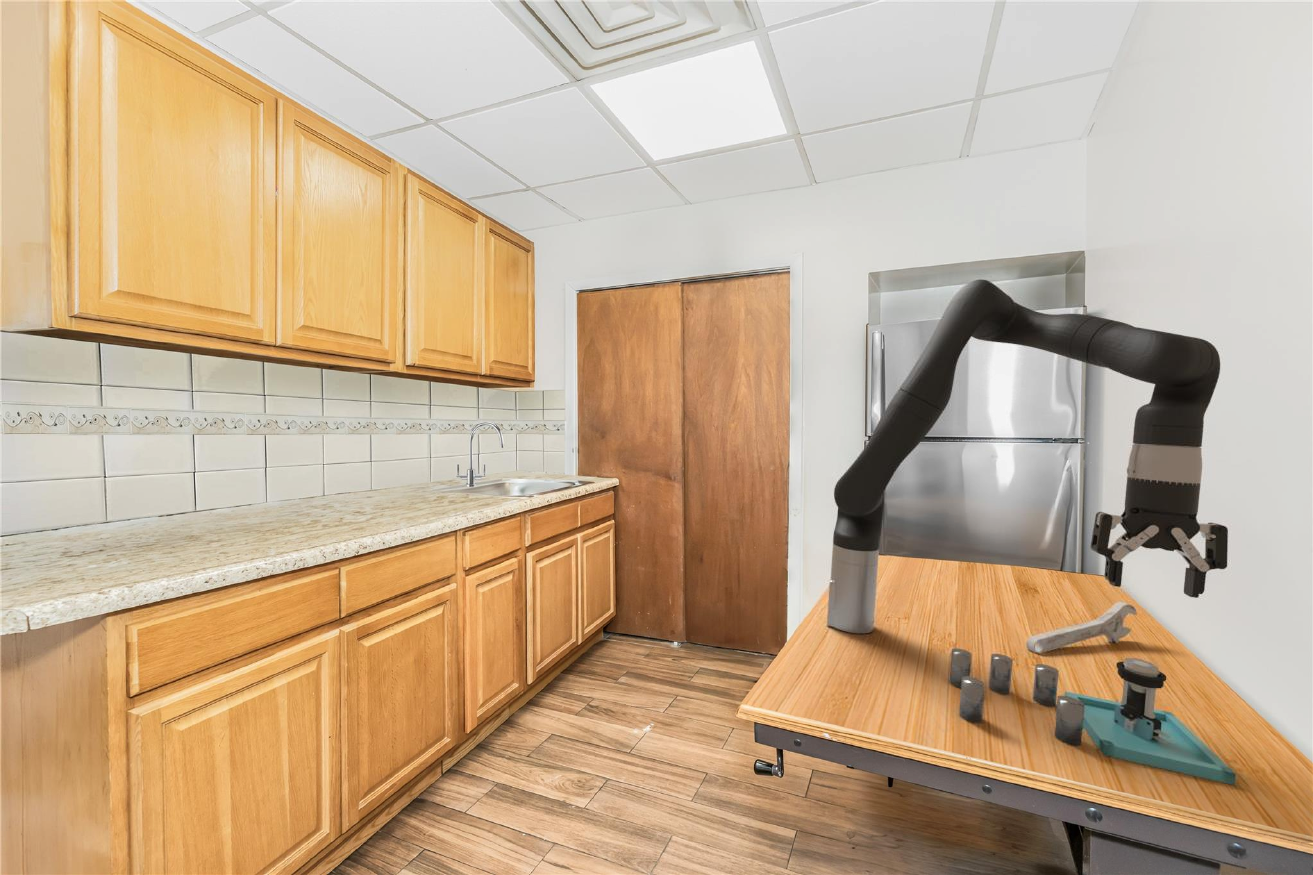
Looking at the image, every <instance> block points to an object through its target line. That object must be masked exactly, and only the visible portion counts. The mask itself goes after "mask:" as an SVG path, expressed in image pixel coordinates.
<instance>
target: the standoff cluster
mask: <svg viewBox="0 0 1313 875" xmlns="http://www.w3.org/2000/svg"><path fill="white" fill-rule="evenodd" d="M950 650H951V652H950V653H951V654H950V664H949V667H950V668H949V676H948V677H949V681H948V683H949V684H951V686H953V687H955V688H958V689H960V696H959V697H960V699H959V714H958V716H959V717H960V718H962V719H963V720H965V721H967V722H970V723H973V724H979V723H982V722H983V716H984V705H985V704H984V702H985V691H986V683H985V682H984V680H981V679H979V678H977V677H974V676H971V673H972V671H971V670H972V669H971V668H972V659H973V654H972V653H971V652H970V651H968V650H966V649H961V648H957V647H956V648H955V647H954V648H952V649H950ZM1034 667H1035V668H1034V677H1033V678H1034V679H1033V681H1034V682H1033V690H1032V691H1033V692H1032V700H1033V702H1035V703H1036V704H1039V705H1041V706H1044V707H1047V708H1055V707H1056V715H1055V722H1054V723H1055V726H1054V737H1055V738H1056V739H1057V740H1059V741H1060V742H1062V743H1064V744H1067V745H1070V746H1074V747H1078V746H1081V745H1082V739H1083V738H1082V737H1083V729H1084V727H1083V718H1084V706H1085V705H1084V703H1083V702H1081V701H1079V700H1077V699H1075V698H1072V697H1068V696H1065V695H1058V694H1057V693H1058V686H1059V685H1058V682H1059V669H1057V668H1055V667H1054V666H1051V665H1048V664H1045V663H1043V664H1042V663H1036V664H1035V666H1034ZM1012 673H1013V659H1012V657H1010V656H1007V655H1005V654H1001V653H992V654H991V655H990V666H989V676H988V678H989V679H988V689H989V690H990V691H992V692H993V693H996V694H998V695H1002V696H1003V695H1005V696H1009V695H1010V694H1011V687H1012V686H1011V685H1012V684H1011V683H1012Z"/></svg>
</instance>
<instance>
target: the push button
mask: <svg viewBox="0 0 1313 875" xmlns="http://www.w3.org/2000/svg"><path fill="white" fill-rule="evenodd" d="M1116 668H1117V674H1118V676H1119V677H1120V678H1121V679H1122V680H1123V684H1122V685H1123V686H1122V688H1123V689H1122V698H1121V699H1122V700H1120V701H1119V702H1120V704H1122V705H1118V706H1115V712H1114V722H1115V723H1116V724H1118V725H1120V726H1122V727H1124V728H1125V730H1127V731H1129V732H1133V733H1135V734H1137V735H1139V736H1141V737H1143V738H1145V739H1147V740H1153V739H1157V740H1159V741H1161V742H1163V743H1165V744H1170V742H1168V741H1166V740H1164V739H1162V738H1161V737H1159V734H1161V735H1163V736H1165V735H1167V734H1165V733H1163V732H1162V731H1161V724H1162V723H1161V721H1160V720H1158V719H1156V718H1155V715H1154V709H1155V704H1156V703H1155V702H1156V701H1155V700H1156V691H1157V689H1162V688H1163V687H1164V684H1165V683H1164V682H1166V681H1167V675H1166V674H1165V673H1164V672H1161V671H1160V670H1159V666H1158V665H1156V664H1155V663H1152V662H1150V661H1148V660H1145V659H1140V658H1134V657H1126V658H1124V661H1118V662H1116ZM1165 737H1167V738H1170V737H1171V736H1169V735H1167V736H1165ZM1164 741H1165V742H1164Z"/></svg>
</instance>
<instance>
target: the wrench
mask: <svg viewBox="0 0 1313 875" xmlns="http://www.w3.org/2000/svg"><path fill="white" fill-rule="evenodd" d="M1128 614H1131V615H1133V616H1137V615H1138V612H1137V609H1136V607H1134V606H1133V605H1131V604H1129V603H1128V602H1123V601H1117V602H1115V603H1114V604H1113V605H1112V606H1110V608H1109V609H1107V610H1106V611H1105V612H1104V613H1103V614H1101V615H1100V616H1099V617H1097V618H1096V619H1093V620H1088V621H1086V622H1082V623H1078V624H1074V625H1070V626H1066V627H1062V628H1059V629H1054V630H1050V631H1047V632H1042V633H1039V634H1035V635H1032V636H1029V637H1028V639H1027V640H1026V643H1025V646H1026V649H1027V650H1028V651H1030V652H1031V653H1032V652H1033V653H1035V654H1041V653H1047V652H1050V651H1053V650H1056V649H1059V648H1063V647H1067V646H1069V645H1073V644H1077V643H1080V642H1084V641H1087V640H1090V639H1093V638H1097V637H1101V636H1105V637H1106V639H1107V642H1109V643H1115V644H1119V642H1120V641H1119V640H1120V639H1122V638H1125V637H1126V636H1127V635H1128V634H1130V633H1131V632H1132V628H1130V627H1128V626H1125V625H1124V620H1125V619H1126V617H1127V616H1128Z"/></svg>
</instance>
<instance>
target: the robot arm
mask: <svg viewBox="0 0 1313 875" xmlns="http://www.w3.org/2000/svg"><path fill="white" fill-rule="evenodd" d="M971 338H973V339H977V340H979V341H984V342H991V343H992V342H993V343H1002V344H1011V345H1018V346H1024V347H1030V348H1033V349H1038V350H1042V351H1044V352H1045V351H1046V352H1049V353H1052V354H1056V355H1059V356H1062V357H1065V358H1069V359H1072V360H1075V361H1079V362H1082V363H1086V364H1089V365H1093V366H1097V367H1100V368H1105V369H1106V368H1107V369H1109V370H1111V371H1112V372H1113V371H1114V372H1116V373H1119V374H1121V375H1124V376H1126V377H1129V378H1131V379H1135V380H1137V381H1141V382H1145V383H1148V384H1152V385H1154V388H1153V390H1152V391H1153V392H1152V395H1151V399H1150V401H1149V403H1145V404H1144V405H1141V406H1140V407H1139V408H1138V409H1137V410H1136V414H1135V418H1134V426H1133V437H1132V446H1131V450H1130V454H1129V458H1128V465H1127V468H1126V473H1127V474H1126V487H1125V488H1126V489H1125V497H1124V498H1125V499H1124V511H1123V513H1122V514H1121V515H1115V514H1109V513H1107V512H1103V511H1097V513H1095V517H1094V524H1093V529H1092V535H1091V536H1092V537H1091V541H1090V549H1091V551H1094V552H1095V553H1097V554H1099V555H1102V556H1104V558H1105V567H1104V578H1105V580H1107V582H1108V583H1109V585H1110V586H1112V587H1118V588H1120V587H1122V579H1123V570H1124V569H1123V567H1124V566H1123V565H1124V562H1123V561H1121V560H1123V559H1124V558H1125V557H1126V556H1128V555H1129V554H1130V553H1131V552H1134V551H1136V550H1137V549H1139V548H1140V547H1142V548H1145V549H1148V550H1149V549H1150V550H1156V549H1161V550H1164V551H1169V552H1174V551H1176V552H1177V553H1178V554H1179V555H1180V556H1181V557H1182V558H1183V559H1184V561H1185V562H1186V563H1187V564H1188V566H1189V567H1185V573H1184V585H1183V594H1184V595H1186V596H1188V597H1189V598H1195V599H1196V598H1197V599H1198V598H1199V596H1200V595H1203V594H1204V593H1205V588H1206V578H1207V572H1209V571H1211V570H1216V569H1217V570H1218V569H1219V570H1225V569H1227V567H1228V547H1229V546H1228V545H1229V544H1228V543H1229V541H1228V539H1229V534H1228V533H1229V528H1228V527H1227V526H1225V525H1222V524H1219V523H1216V522H1208V523H1199V522H1198V519H1197V515H1198V512H1199V502H1200V492H1201V482H1202V473H1203V457H1202V456H1203V455H1202V446H1203V438H1204V437H1203V435H1204V426H1205V424H1204V421H1205V420H1204V418H1205V415H1206V411H1207V410H1208V407H1209V405H1210V404H1211V400H1212V397H1213V395H1214V392H1215V389H1216V388H1217V385H1218V381H1219V377H1220V373H1221V359H1220V358H1221V357H1220V354H1219V351H1218V350H1217V348H1216V347H1215V345H1213V344H1212V343H1211V342H1209V341H1208V340H1206V339H1203V338H1200V337H1194V336H1187V335H1182V334H1178V333H1174V332H1172V333H1171V332H1167V331H1166V332H1165V331H1160V330H1156V329H1155V330H1154V329H1149V328H1143V327H1137V326H1133V325H1131V324H1129V323H1126V322H1123V321H1122V322H1121V321H1118V320H1114V319H1109V318H1104V317H1100V316H1096V315H1091V314H1090V315H1089V314H1082V313H1059V314H1049V313H1043V312H1040V311H1037V310H1036V311H1035V310H1033V309H1031V308H1028V307H1026V306H1023V305H1021V304H1019V303H1018V302H1015V300H1014V299H1012V297H1011V296H1010V295H1009V294H1007V293H1006V292H1004V291H1003V290H1002V289H1001V288H1000V287H998V286H997V285H996V284H994V283H993V282H991V281H989V280H987V279H982V278H981V279H976V280H973V281H970V282H968V283H967V284H965V285H963V286H962V287H961V288H959V290H958V291H957V292H956V294H955V295H954V296H953V297H952V299H951V300H950V301H949V303H948V305H947V307H946V308H945V310H944V312H943V314H942V316H941V318H940V319H939V321H938V323H937V326H936V328H935V330H934V331H933V333H932V335H931V337H930V339H929V341H928V343H927V345H926V346H925V347H924V350H923V351H922V353H921V354H920V356H919V358H918V359H917V361H916V362H915V364H914V366H913V367H912V369H911V371H910V372H909V373H908V376H907V377H906V378H905V380H904V381H903V382H902V384H901V385H900V387H898V388H899V389H898V390H897V391H896V393H895V394H894V396H893V398H892V399H891V400H890V402H889V403H888V405H887V407H886V409H885V410H884V412H883V413H882V416H881V418H880V419H879V421H878V423H877V425H875V428H874V430H873V432H872V434H871V436H870V438H869V439H868V442H867V444H866V445H865V447H864V448H863V450H862V451H861V452H860V454H859V455H858V456H857V458H856V459H855V460H854V462H853V463H852V464H851V465H850V466H849V468H848V469H847V470H846V471H845V473H844V474H843V475H842V476H841V477H840V478H839V479H838V480H837V482H836V484H835V486H834V489H833V490H834V491H833V498H834V501H835V502H834V503H835V504H836V507H837V515H836V516H837V517H836V522H835V527H834V530H833V537H832V538H833V539H832V552H831V553H832V554H831V566H830V569H831V570H830V579H829V584H828V585H829V587H828V588H829V589H828V602H827V618H826V619H827V620H826V626H828V627H833V628H834V629H836V630H840V631H843V632H847V633H851V634H868V633H871V632H873V631H874V625H875V624H874V623H875V615H876V614H875V612H876V596H877V586H878V585H877V584H878V582H877V581H878V568H879V556H880V555H879V554H880V553H879V552H880V542H881V536H882V530H883V518H884V503H885V490H886V488H887V487H888V485H889V483H890V481H891V479H892V478H893V477H894V474H895V472H896V471H897V470H898V468H899V467H900V466H901V464H902V463H903V462H904V460H905V459H906V458H907V457H908V456H909V455H910V454H911V453H912V452H913V451H914V450H915V449H916V448H917V447H918V446H919V444H920V443H921V442H922V441H923V439H924V438H925V437H926V436H927V435H928V434H929V432H930V431H931V430H932V428H933V427H934V426H935V424H936V422H938V420H939V418H940V417H941V415H942V414H943V413H944V411H945V409H946V407H947V406H948V404H949V401H950V400H951V397H952V396H951V395H952V392H953V386H954V380H955V375H956V370H957V369H956V368H957V364H958V362H959V359H960V356H961V355H962V352H963V350H964V349H965V347H966V345H967V344H968V342H969V341H970V339H971ZM1118 524H1120V525H1121V527H1122V528H1123V529H1124V531H1125V532H1124V533H1122V535H1120V536H1119V537H1118V538H1117V539H1116V540H1115V542H1114V543H1113V544H1112V545H1111V546H1109V544H1110V543H1109V542H1110V537H1111V530H1115V529H1116V527H1117V526H1118ZM1199 532H1200V535H1201V537H1202V538H1203V539H1205V551H1204V552H1205V554H1204V558H1203V557H1202V555H1201V553H1200V551H1199V550H1198V549H1197V547H1196V546H1195V545H1194V544H1193V543H1192V542H1191V539H1193V538H1194V537H1195V536H1196V535H1198V533H1199Z"/></svg>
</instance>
